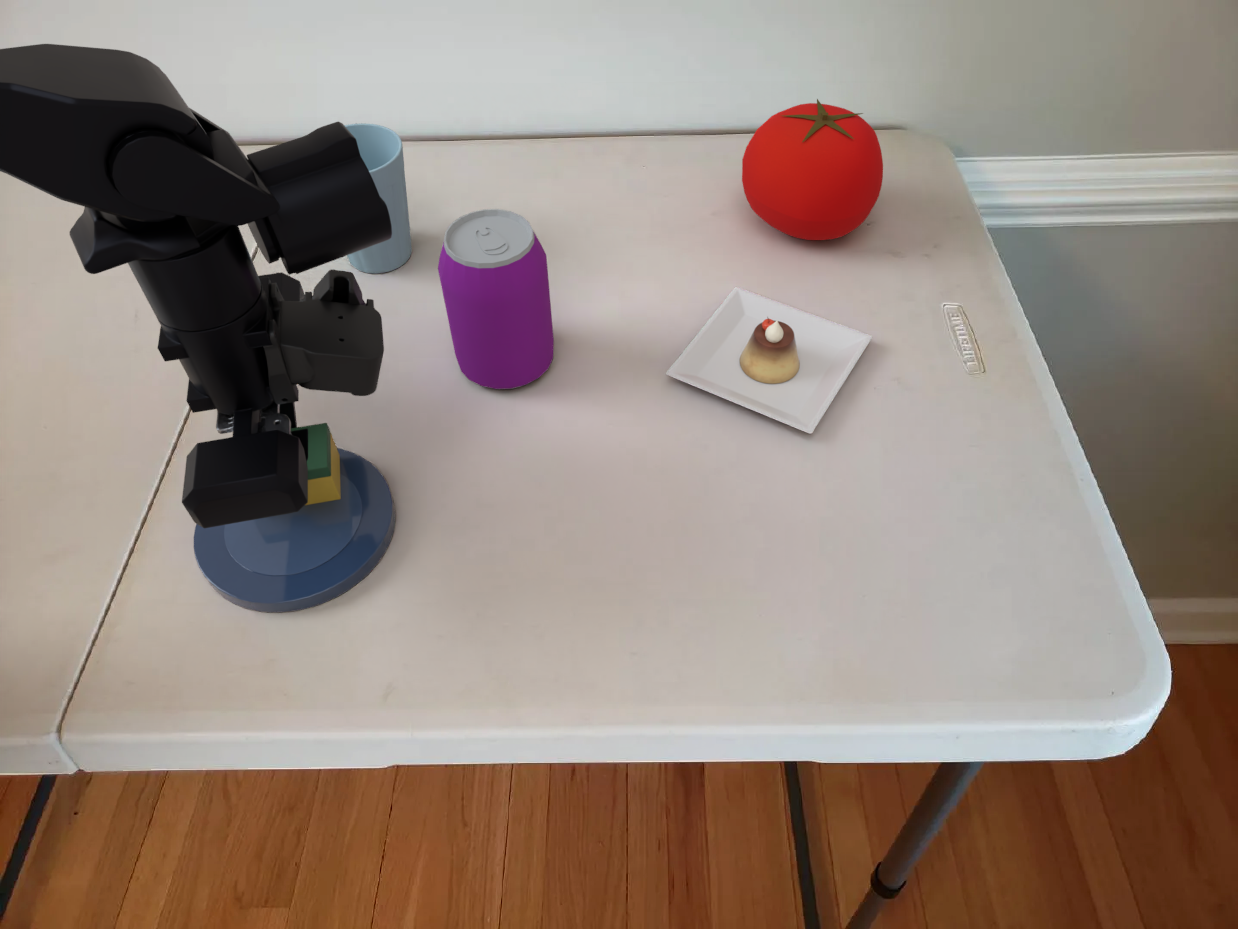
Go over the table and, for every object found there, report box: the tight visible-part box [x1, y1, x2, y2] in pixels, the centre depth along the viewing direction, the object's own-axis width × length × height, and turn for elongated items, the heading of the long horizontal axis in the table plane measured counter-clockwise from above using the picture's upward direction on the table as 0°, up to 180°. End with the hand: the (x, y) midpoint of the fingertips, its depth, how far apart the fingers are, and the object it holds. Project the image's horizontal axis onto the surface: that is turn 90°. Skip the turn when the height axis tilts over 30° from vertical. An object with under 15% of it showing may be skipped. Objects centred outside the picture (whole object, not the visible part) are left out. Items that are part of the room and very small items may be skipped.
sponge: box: [291, 422, 341, 505], centre depth 62 cm, size 6×4×4 cm, turn 102°
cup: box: [343, 122, 413, 274], centre depth 77 cm, size 8×8×10 cm
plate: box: [193, 447, 396, 613], centre depth 62 cm, size 13×13×1 cm
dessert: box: [665, 286, 873, 434], centre depth 70 cm, size 12×12×5 cm
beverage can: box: [437, 208, 555, 390], centre depth 68 cm, size 8×8×12 cm
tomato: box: [741, 98, 884, 241], centre depth 80 cm, size 12×12×10 cm
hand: (291, 475), depth 62 cm, fingers closed on sponge, 4 cm apart
